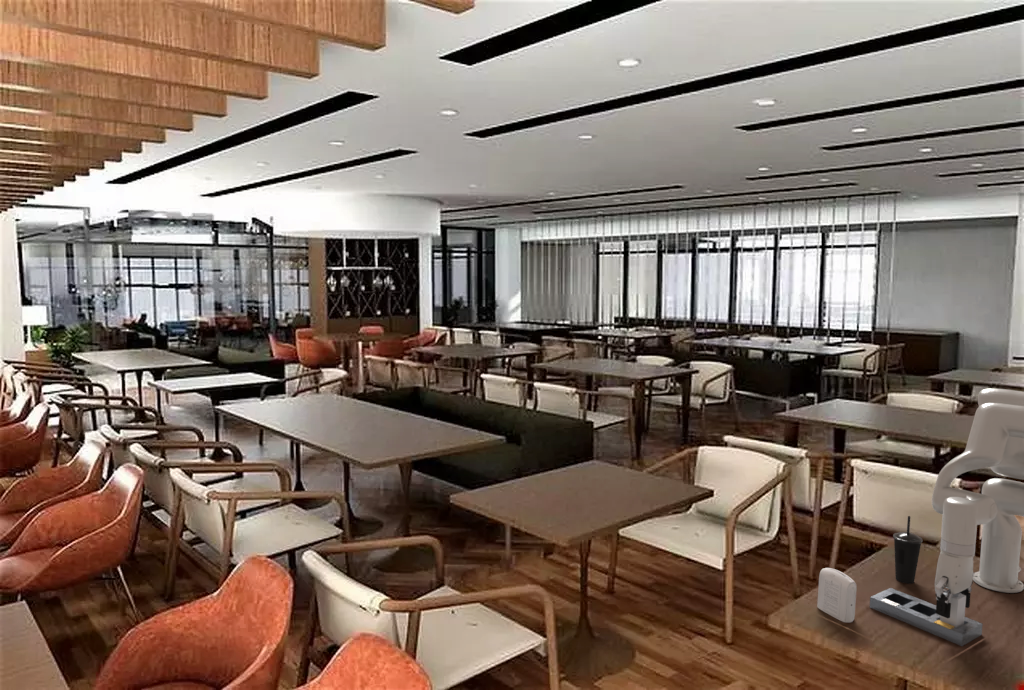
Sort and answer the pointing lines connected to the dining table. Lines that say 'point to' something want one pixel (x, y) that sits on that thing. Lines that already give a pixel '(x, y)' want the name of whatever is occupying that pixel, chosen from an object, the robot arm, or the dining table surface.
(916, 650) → the dining table surface
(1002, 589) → the robot arm
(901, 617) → the socket panel
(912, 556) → the drinking cup
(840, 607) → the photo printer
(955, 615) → the plug
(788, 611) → the dining table surface
